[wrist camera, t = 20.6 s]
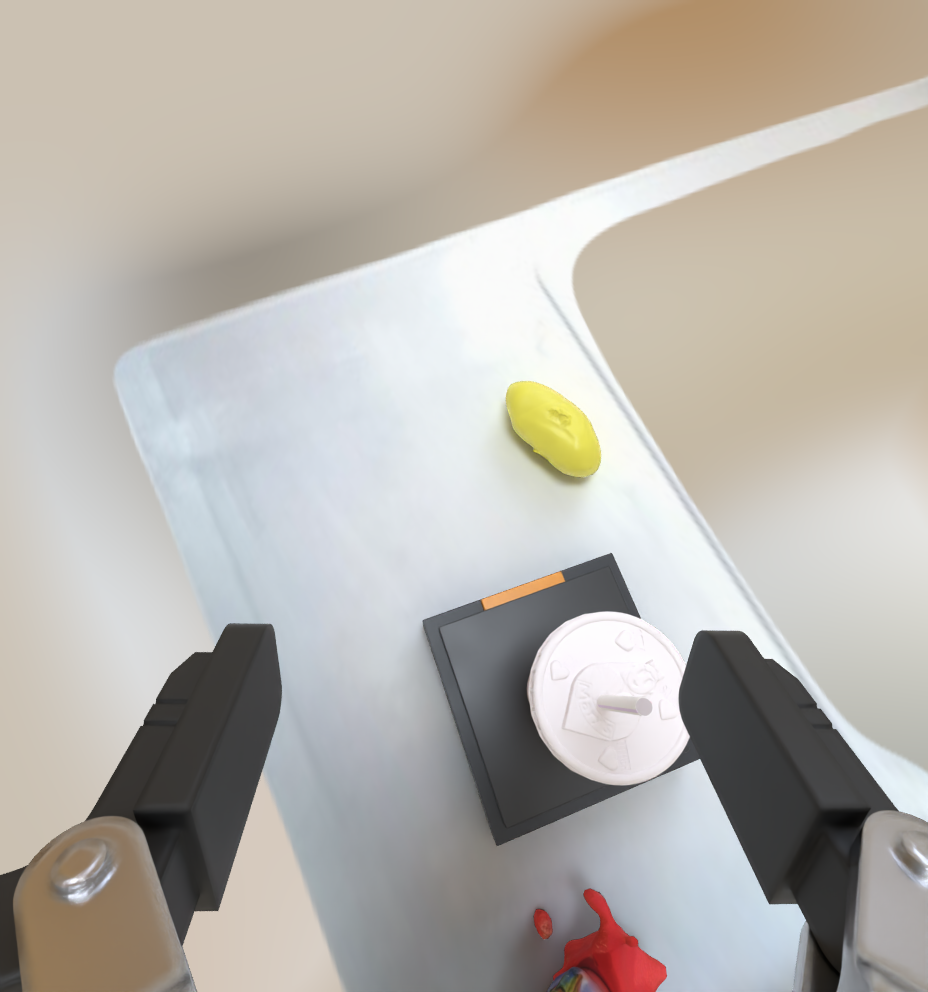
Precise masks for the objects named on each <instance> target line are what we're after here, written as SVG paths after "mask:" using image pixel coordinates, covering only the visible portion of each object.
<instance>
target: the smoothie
mask: <svg viewBox="0 0 928 992" xmlns="http://www.w3.org/2000/svg"><path fill="white" fill-rule="evenodd" d="M685 668H686V664H685V662H684V660H683V658H682V656H681V655H680V653H679V651H678V650H677V649H676V647H675V646H674V645H673V644H672V642H671V641H670V640H669V639H668V638H667V637H666V636H665V635H664V634H663V633H662V632H660V631H659V630H658V629H657V628H655V627H654V626H652V625H651V624H649V623H648V622H646V621H644V620H642V619H640V618H637V617H635V616H632V615H629V614H625V613H619V612H596V613H589V614H583V615H581V616H578V617H576V618H573V619H571V620H568V621H566V622H565V623H563V624H562V625H561V626H559V627H558V628H557V629H556V630H554V631H553V632H552V633H551V634H550V635H549V636H548V637H547V639H546V640H545V642H544V643H543V644H542V646H541V647H540V649H539V650H538V652H537V655H536V657H535V660H534V663H533V665H532V668H531V671H530V676H529V678H528V682H527V697H528V701H529V704H530V709H531V715H532V718H533V720H534V723H535V725H536V728H537V730H538V733H539V735H540V737H541V739H542V740H543V742H544V743H545V744H546V746H547V747H548V749H549V750H550V751H551V753H552V754H553V755H554V756H555V757H556V758H557V759H558V760H559V761H561V762H562V763H563V764H564V765H565V766H566V767H568V768H569V769H570V770H571V771H573V772H575V773H578V774H580V775H582V776H584V777H586V778H588V779H590V780H594V781H597V782H601V783H605V784H610V785H632V784H637V783H641V782H644V781H647V780H650V779H652V778H654V777H656V776H658V775H659V774H661V773H662V772H664V771H665V770H666V769H668V768H669V767H670V766H671V765H672V764H673V763H674V762H675V761H676V759H677V758H678V757H679V756H680V754H681V753H682V751H683V750H684V748H685V746H686V744H687V742H688V740H689V737H690V736H689V734H688V732H687V730H686V728H685V725H684V723H683V721H682V718H681V714H680V710H679V700H678V697H679V688H680V685H681V681H682V678H683V675H684V671H685Z"/></svg>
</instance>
